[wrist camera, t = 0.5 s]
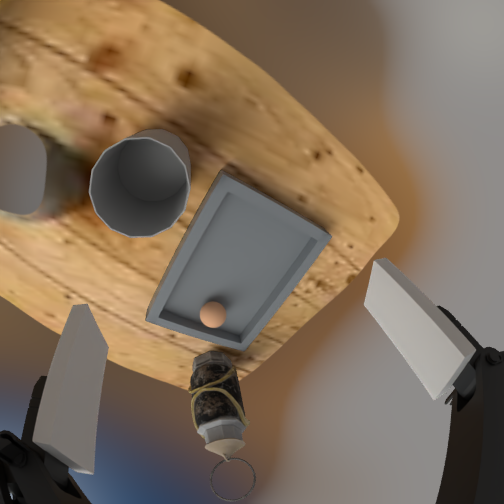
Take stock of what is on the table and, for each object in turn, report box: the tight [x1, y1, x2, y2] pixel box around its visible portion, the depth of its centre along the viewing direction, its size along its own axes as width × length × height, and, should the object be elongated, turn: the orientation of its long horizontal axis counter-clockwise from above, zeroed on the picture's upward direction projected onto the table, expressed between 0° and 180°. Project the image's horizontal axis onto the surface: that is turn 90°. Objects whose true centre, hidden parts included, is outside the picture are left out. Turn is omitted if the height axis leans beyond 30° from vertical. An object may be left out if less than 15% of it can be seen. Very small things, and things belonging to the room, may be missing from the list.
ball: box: [200, 301, 226, 328], centre depth 37 cm, size 4×4×4 cm
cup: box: [89, 129, 191, 238], centre depth 24 cm, size 8×8×10 cm
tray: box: [145, 170, 332, 351], centre depth 36 cm, size 16×22×2 cm
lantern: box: [188, 351, 256, 501], centre depth 35 cm, size 9×8×25 cm
